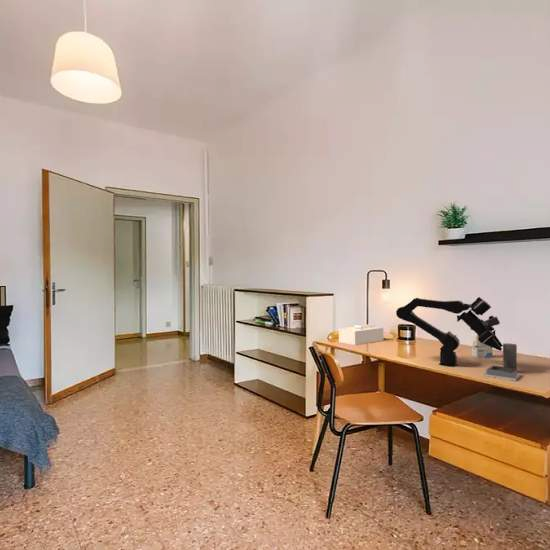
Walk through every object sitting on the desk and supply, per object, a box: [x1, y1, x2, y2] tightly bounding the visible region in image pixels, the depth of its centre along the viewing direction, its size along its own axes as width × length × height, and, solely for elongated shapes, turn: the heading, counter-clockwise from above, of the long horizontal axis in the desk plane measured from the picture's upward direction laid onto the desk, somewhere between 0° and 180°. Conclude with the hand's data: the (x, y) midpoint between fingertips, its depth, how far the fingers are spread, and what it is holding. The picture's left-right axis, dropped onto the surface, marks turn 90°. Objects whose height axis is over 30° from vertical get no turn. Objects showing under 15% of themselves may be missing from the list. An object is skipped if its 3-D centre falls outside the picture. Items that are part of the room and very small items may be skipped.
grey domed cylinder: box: [502, 343, 518, 369], centre depth 175 cm, size 5×5×12 cm
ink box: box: [471, 333, 493, 359], centre depth 204 cm, size 9×5×12 cm, turn 92°
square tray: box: [482, 364, 522, 382], centre depth 168 cm, size 12×11×3 cm
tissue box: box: [338, 323, 384, 346], centre depth 253 cm, size 14×25×11 cm, turn 123°
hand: (501, 348), depth 177 cm, fingers open, 9 cm apart
